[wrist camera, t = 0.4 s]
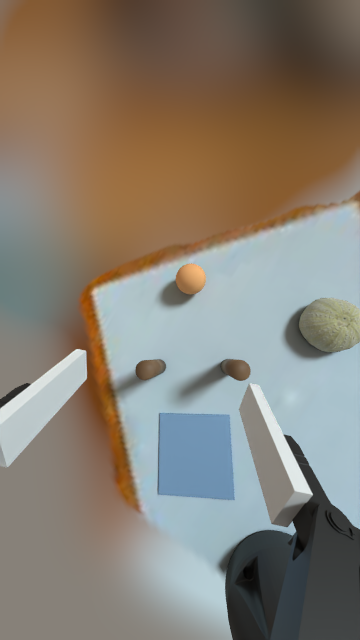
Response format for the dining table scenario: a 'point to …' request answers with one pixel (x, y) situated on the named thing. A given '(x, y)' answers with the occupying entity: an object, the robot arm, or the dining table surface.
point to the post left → (150, 368)
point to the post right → (236, 369)
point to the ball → (190, 279)
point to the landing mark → (195, 456)
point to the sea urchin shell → (331, 324)
